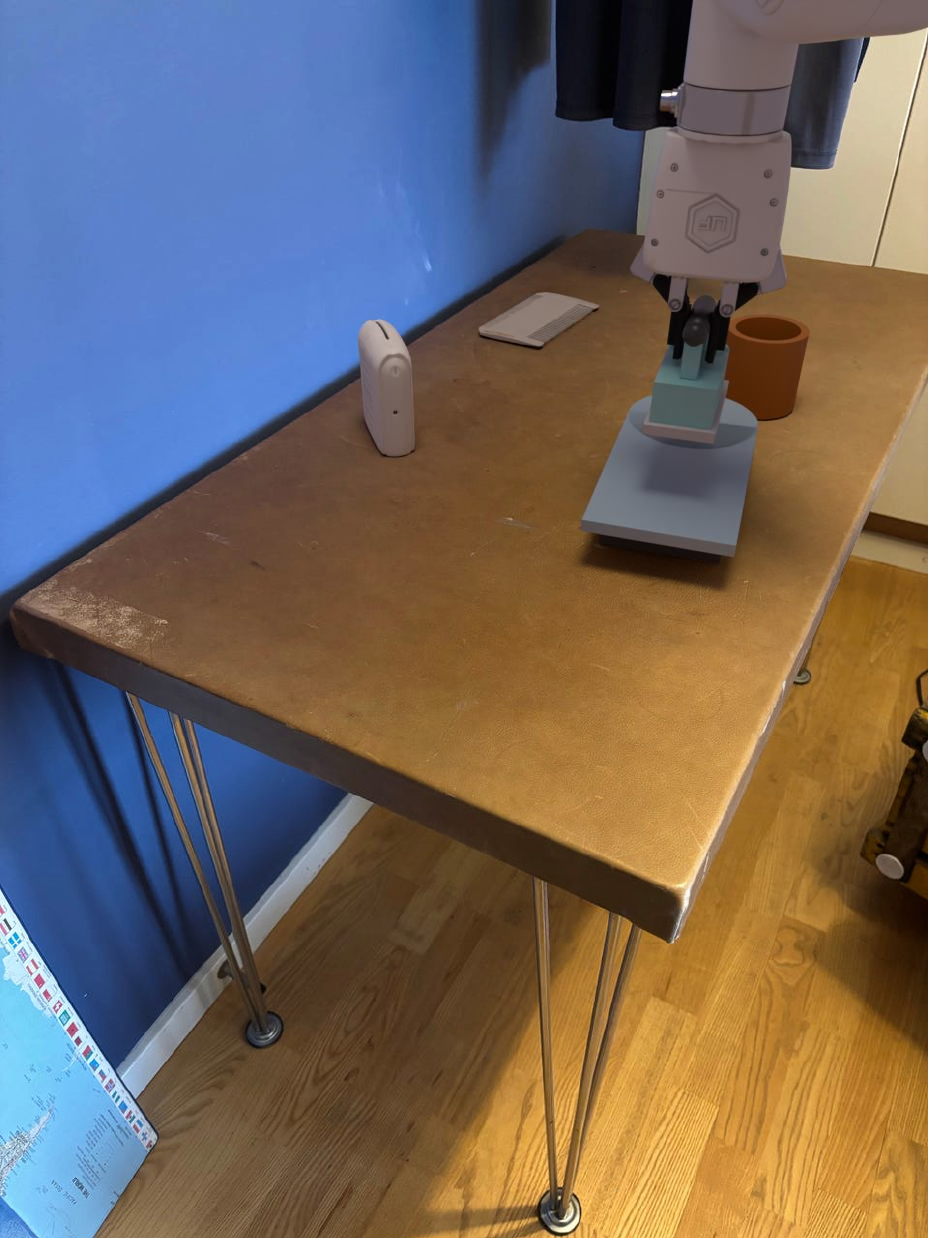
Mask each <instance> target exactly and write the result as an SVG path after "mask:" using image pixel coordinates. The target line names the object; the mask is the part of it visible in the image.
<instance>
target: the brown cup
mask: <svg viewBox="0 0 928 1238" xmlns="http://www.w3.org/2000/svg"><path fill="white" fill-rule="evenodd" d="M810 332H811V331H810V328H809V327H808V326H807V325H806V324H804V323H803V322H801V321H798V320H796V319H793V318H790V317H786V316H781V315H774V314H749V315H742V316H739V317H735V318H734V319H732V320H730V324H729V330H728V336H727V342H726V344H727V346H728V347H729V354H728V360H727V366H726V372H725V377H724V380H727V381H729V384H728V389H727V394H726V397H725V398H726V399H729V400H732V401H734V402H736V403H738V404H740V405H742V406H744V407H745V408H747V409H748V410H749V411H750V412H752V413H753V415H754V416H755V417H756V419H757V420H771V419H772V420H773V419H779V418H783V417H785V416H788V415H789V414H790V413H792V412H793V411H794V410H793V409H794V407H795V403H796V397H797V394H798V390H799V389H798V388H799V384H800V379H801V374H802V369H803V365H804V362H805V361H804V360H805V355H806V352H807V347H808V342H809V337H810Z"/></svg>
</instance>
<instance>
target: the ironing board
mask: <svg viewBox="0 0 928 1238" xmlns="http://www.w3.org/2000/svg"><path fill="white" fill-rule="evenodd" d="M651 401H652V394H650V395H648V396H646V397H645V396H644V397H643V398H641V399H639V400H637V401H636V402H634V403H633V404H632V405H631V406H630V408H629V410H628V412H627V414H626V417H625V419H624V421H623V423H622V426H621V428H620V430H619V432H618V435H617V437H616V439H615V441H614V443H613V446H612V449H611V451H610V453H609V455H608V458H607V460H606V463H605V465H604V467H603V469H602V472H601V474H600V476H599V477H598V478H599V479H598V480H597V483H596V485H595V487H594V490H593V492H592V494H591V497H590V499H589V501H588V504H587V506H586V508H585V511H584V513H583V515H582V517H581V521H580V531H581V532H586V533H591V534H596V535H598V544H601V545H606V546H612V547H618V548H624V549H629V550H635V551H640V552H646V553H652V554H658V555H664V556H668V557H675V558H681V559H686V560H691V561H699V562H703V563H709V564H715V565H720V564H721V561H722V556H723V557H724V556H725V557H732V558H734V557H735V554H736V549H737V545H738V539H739V534H740V528H741V523H742V517H743V511H744V506H745V501H746V496H747V491H748V484H749V479H750V474H751V470H752V469H751V468H752V465H753V464H752V462H753V457H754V452H755V447H756V441H757V436H758V430H759V422H758V419H756V417H755V416H754V415H753V413H752V412H750V411H749V410H748V409H747V408H745V407H744V406H742V405H740V404H738V403H736V402H734V401H732V400H729V399H726V398H725V401H724V405H723V409H722V413H721V417H720V421H719V425H718V429H717V433H716V437H715V440H714V443H713V444H711V443H703V442H696V441H689V440H681V439H674V438H667V437H660V436H652V435H645V434H642V430H643V424H644V421H645V418H646V416H647V413H648V411H649V408H650V406H651Z"/></svg>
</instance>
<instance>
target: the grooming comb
mask: <svg viewBox="0 0 928 1238" xmlns="http://www.w3.org/2000/svg"><path fill="white" fill-rule="evenodd" d="M599 307H601V306H600V304H598V303H597V304H596V303H593V302H590V301H586V300H583V299H581V298H577V297H573V296H568V295H563V294H559V293H555V292H549V291H548V292H546V291H545V292H537V293H534V294H532V295H531V296H530V297H528V298H526V299H524V300H523V301H521V302H520V303H518V304H516V305H515V306H513V307H512V308H509V309H508V310H506V311H504V312H503V313H501V314H499V315H498V316H496V317H495V318H493V319H491V320H489V321H487V322H486V323H483V325H481V326H479V327H478V333H479V335H481V336H483V337H487V338H491V339H494V340H498V341H504V342H509V343H513V344H518V345H524V346H525V345H526V346H530V347H531V346H532V347H538V348H539V347H542V346H543V345H545V343H547V342H548V341H550V340H552V339H553V338H555V337H556V336H557V335H559V334H561V332H563V331H566V330H567V329H568V328H569V327H571V326H572V325H574V323H577V322H578V321H580V320H581V319H584V318H586V316H587V315H588V314H590V313H591V312H593V311H594V310H596V309H598V308H599Z"/></svg>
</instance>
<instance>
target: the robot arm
mask: <svg viewBox="0 0 928 1238" xmlns="http://www.w3.org/2000/svg"><path fill="white" fill-rule="evenodd" d="M925 29H928V0H692V6H691V14H690V21H689V28H688V30H689V31H688V38H687V46H686V55H685V63H684V70H683V82H682V83H681V84H680V85H679V86H678V87H677V88H672V90H668V89H667V90H666V89H665V90H664V89H663V90H662V92H661V95H660V101H659V111H660V112H669V114H673V115H674V118H676V125H677V126H673V127H671V128H670V129H668V130H666V132H665V134H664V138H663V141H662V145H661V148H660V153H659V155H658V160H657V164H656V169H655V172H654V178H653V184H652V189H651V195H650V201H649V208H648V214H647V220H646V226H645V234H644V242H643V243H642V245H641V247H640V249H639V251H638V253H637V254H636V256H635V258H634V260H633V262H632V263H631V265H630V267H629V271H630V273H631V274H632V275H633V276H635V277H637V278H638V279H640V280H641V281H643V282H645V283H647V284H650V285H652V286H653V287H654V289H655V290H656V291H657V292H658V294H659V295H660V296H661V297H662V299H663V300H664V302H666V304H667V308H668V310H669V311H670V317H669V324H668V332H667V339H666V345H667V346H669V345H674V350H673V358H672V359H676V360H679V358H682V355H683V349H684V341H683V337H682V333H683V330H684V327H685V325H686V322H687V320H688V317H689V314H690V312H691V309H692V307H693V304H691V301H690V300H691V299H690V298H691V297H690V296H689V294H688V292H689V286H690V279H701V280H711V281H719V282H723V284H722V288H721V289H722V290H721V297H720V299H719V300H718V302H717V307H715V309H714V312H713V315H712V318H711V324H710V331H709V336H708V343H707V349H706V355H705V361H707V363H710V364H713V362H714V358H715V355H716V352H717V350H718V351H724V350H725V347H726V342H727V336H728V330H729V324H730V321H731V318H732V316H733V315H734V313H735V312H736V311H738V310H739V309H740V308H742V307H743V306H744V305H746V304H747V303H748V302H750V301H751V300H753V299H754V298H755V297H757V296H761V295H764V294H768V293H771V292H775V291H778V290H782V289H783V288H784V287H785V286H786V284H787V280H788V274H787V270H786V265H785V261H784V257H783V252H782V247H781V242H782V234H783V229H784V223H785V217H786V210H787V204H788V203H787V202H788V195H789V188H790V180H791V179H790V178H791V169H792V136H791V133H789V132H787V131H785V130H784V126H785V121H786V116H787V110H788V104H789V98H790V93H791V88H792V84H793V77H794V72H795V68H796V61H797V58H798V57H797V56H798V51H799V45H806V44H817V43H828V42H837V41H843V40H852V39H864V38H875V37H877V38H878V37H887V36H900V35H906V34H911V33H914V32H915V33H916V32H918V31H923V30H925Z"/></svg>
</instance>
